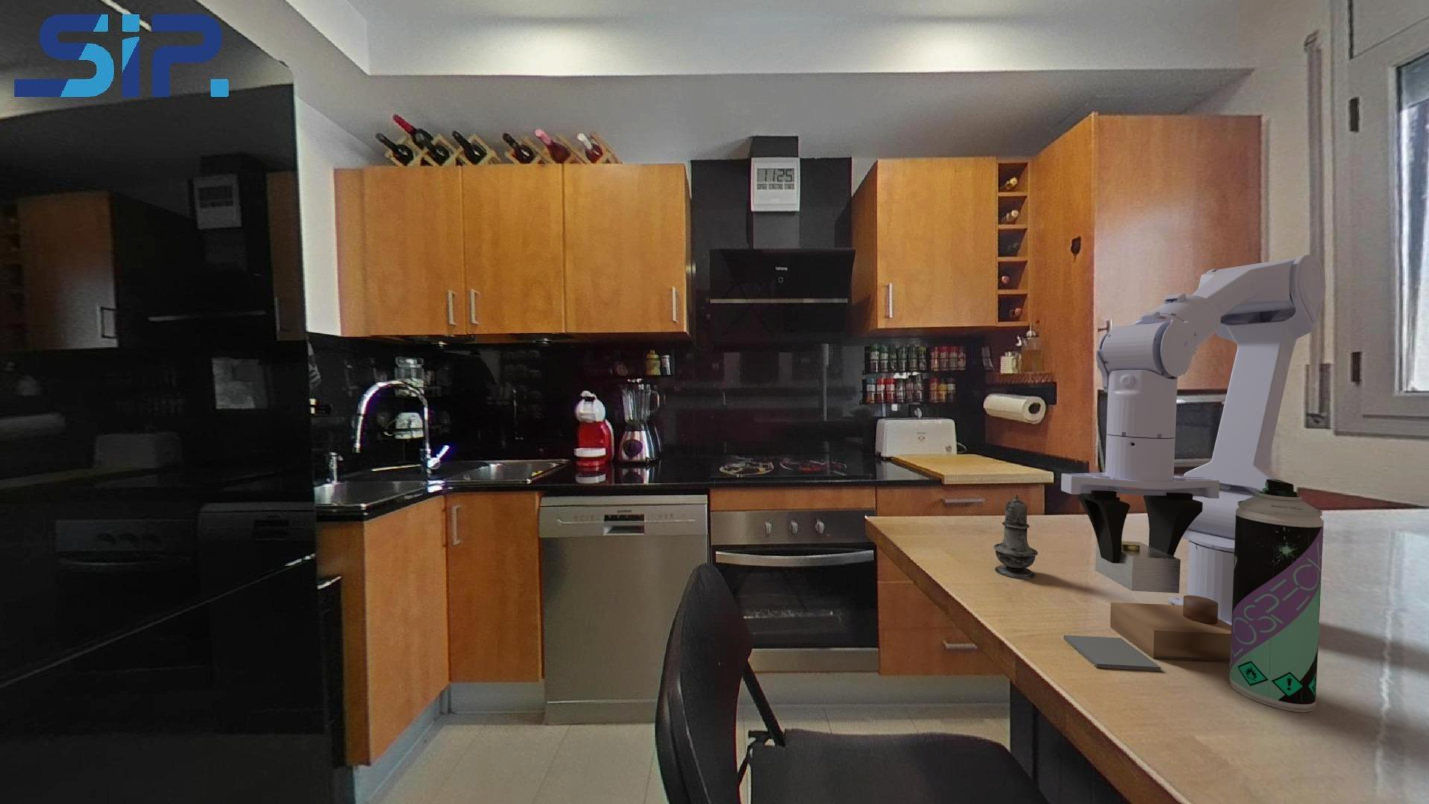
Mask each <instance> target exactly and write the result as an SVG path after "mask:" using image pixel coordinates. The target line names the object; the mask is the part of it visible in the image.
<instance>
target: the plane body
mask: <svg viewBox="0 0 1429 804" xmlns="http://www.w3.org/2000/svg"><path fill="white" fill-rule="evenodd" d="M1182 598H1183V605H1175V604H1165V603H1164V604H1163V603H1139V602H1138V603H1137V602H1115V601H1110V615H1109V616H1110V618H1109V619H1110V620H1109V622H1110V623H1109V624H1110V625H1109V628H1111V629H1112V630H1114V631H1115V632H1116V633H1118V634H1119V635H1120V636H1122V637H1123V639H1124V638H1125V639H1126V640H1127V641H1128V642H1129V643H1132V644H1133V645H1135V647H1137V648H1138V649H1140V650H1141V651H1143V652H1144V653H1145V654H1146V655H1148V656H1149V657H1151V658H1153V659H1158V660H1162V659H1163V660H1178V661H1179V660H1180V661H1198V662H1199V661H1200V662H1201V661H1202V662H1214V663H1215V662H1218V663H1230V651H1231V625H1230V624H1228V623H1226V622H1224V621H1222V620H1220V619H1219V618H1218V603H1217V602H1215V601H1213V600H1211V599H1208V598H1204V597H1200V596H1193V595H1187V594H1186V595H1184V596H1183V597H1182Z"/></svg>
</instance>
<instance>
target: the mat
mask: <svg viewBox="0 0 1429 804" xmlns="http://www.w3.org/2000/svg"><path fill="white" fill-rule="evenodd" d="M1063 639H1064V640H1065V641H1066V642H1067V643H1068V644H1069V645H1070V644H1071V645H1072V646H1071V645H1070V646H1071V647H1073V648H1074V649H1075V648H1076V649H1075V650H1076V651H1077V650H1078V651H1077V652H1078V653H1079V652H1080V653H1079V654H1081V656H1083V657H1084V659H1086V658H1087V659H1088V660H1089V661H1088V660H1087V659H1086V660H1087V661H1088V662H1090V663H1091V662H1092V663H1091V664H1092V665H1093V664H1094V665H1095V666H1094V665H1093V666H1094V667H1095V668H1096V667H1098V669H1118V670H1119V669H1120V670H1133V671H1134V670H1135V671H1141V670H1142V671H1154V672H1158V671H1159V672H1161V671H1162V669H1161V668H1162V667H1161V666H1160V665H1158V664H1157V663H1156V662H1155V661H1154V660H1152V659H1151V658H1149V657H1148V656H1147V655H1145V654H1143V653H1142V652H1141V651H1139V650H1138V649H1137V648H1135V647H1134V646H1132V645H1131V644H1130V642H1127V641H1126V640H1125V639H1124V638H1122V637H1111V636H1108V637H1106V636H1091V635H1090V636H1089V635H1069V634H1068V635H1067V634H1063Z"/></svg>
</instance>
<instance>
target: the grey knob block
mask: <svg viewBox="0 0 1429 804" xmlns="http://www.w3.org/2000/svg"><path fill="white" fill-rule="evenodd" d="M1095 545H1096V546H1095V547H1096V548H1095V572H1098V573H1100V575H1102V576H1105V577H1106V578H1108V579H1110V580H1112V581H1114V582H1115V583H1116V584H1118V585H1121V586H1122V587H1124V588H1126V589H1128V590H1129V591H1131V592H1145V593H1146V592H1148V593H1149V592H1150V593H1164V594H1166V593H1167V594H1168V593H1169V594H1170V593H1171V594H1180V580H1181V562H1182V561H1181V559H1180V558H1179V557H1176V556H1175V555H1174V556H1172V555H1169V554H1166V553H1164V552H1162V551H1159V550H1157V549H1154V548H1152V547H1150V546H1149V544H1146V543H1143V542H1140V541H1130V540H1129V541H1127V540H1122V550H1121V557H1120V561H1119V563H1111V562H1109V561H1107V560H1105V559H1103V558H1101V555H1100V550H1099V546H1098V542H1097V539H1096V542H1095Z"/></svg>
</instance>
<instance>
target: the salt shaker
mask: <svg viewBox="0 0 1429 804" xmlns="http://www.w3.org/2000/svg"><path fill="white" fill-rule="evenodd" d="M1013 498H1014V499H1012V500H1009V501H1007V502H1006V503H1005V507H1004V508H1005V509H1004V511H1005V513H1004V514H1005V515H1004V521H1002V522H1001V524H1002V525H1003V526H1004V528H1003V529H1004V530H1003V531H1004V532H1003V533H1004V534H1003V539H1002V542H1000V543H995V544H994V545H993V547H992V548H993V549H994V550H995V555H996V558H997V560H998V561H999V562H1000V563H1001V564H1000V565H997V566H996V567H995V568H994V571H995V572H996V573H998V574H999V575H1002V576H1004V577H1007V578H1012V579H1018V580H1031V579H1034V578H1035V577H1036V574H1035V572H1033V571H1032V570H1031V569H1029V567H1031V566H1032V565H1033V564H1034V562H1035V561H1036V557H1037V555H1038V553H1039V552H1038V550H1037V549H1036V548H1033V547H1031V546H1029V542H1028V529H1030V524H1028V506H1027V504H1026V503H1025V502H1024V501H1021V500H1020V499H1019V498H1020V496H1019V495H1018V494H1015V495H1014V496H1013Z"/></svg>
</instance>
